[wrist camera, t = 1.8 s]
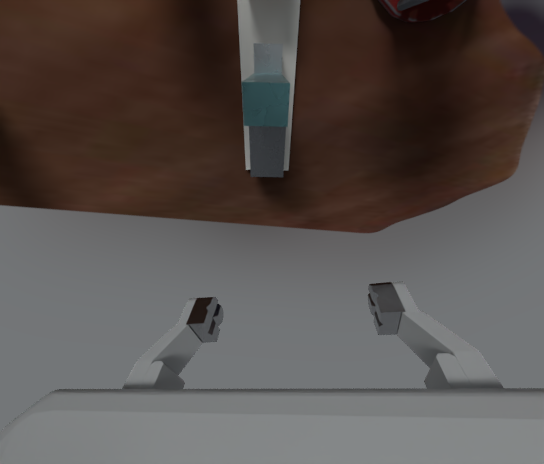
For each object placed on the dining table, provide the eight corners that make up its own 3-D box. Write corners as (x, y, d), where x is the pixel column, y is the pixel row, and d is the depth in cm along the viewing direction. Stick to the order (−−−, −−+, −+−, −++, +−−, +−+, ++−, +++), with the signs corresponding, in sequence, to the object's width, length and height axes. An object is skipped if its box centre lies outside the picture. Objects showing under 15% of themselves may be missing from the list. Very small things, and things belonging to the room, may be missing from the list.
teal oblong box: (277, 161, 40) (281, 225, 24) (257, 161, 40) (249, 224, 24) (281, 45, 30) (293, 28, 15) (255, 44, 30) (239, 27, 15)
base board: (288, 168, 43) (288, 170, 42) (246, 167, 43) (245, 169, 42) (305, -94, 25) (307, -100, 24) (233, -97, 24) (232, -103, 24)
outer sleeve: (281, 165, 41) (283, 177, 37) (252, 164, 41) (250, 176, 37) (284, 103, 35) (286, 109, 31) (250, 102, 35) (248, 108, 31)
